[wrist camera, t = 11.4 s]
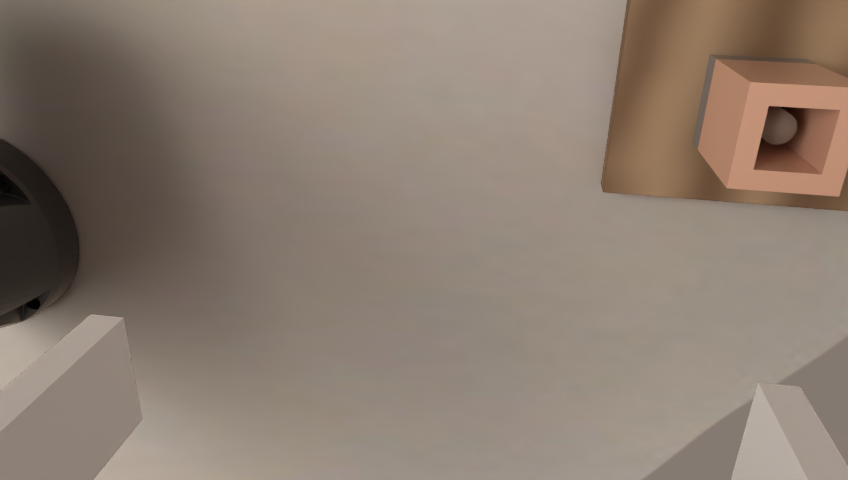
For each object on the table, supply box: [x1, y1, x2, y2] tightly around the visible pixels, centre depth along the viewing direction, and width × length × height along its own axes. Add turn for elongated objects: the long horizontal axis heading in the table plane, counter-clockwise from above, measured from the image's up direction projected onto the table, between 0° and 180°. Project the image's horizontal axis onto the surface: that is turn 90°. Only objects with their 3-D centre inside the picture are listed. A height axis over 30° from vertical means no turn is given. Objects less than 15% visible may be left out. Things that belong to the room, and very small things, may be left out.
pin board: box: [601, 0, 848, 211], centre depth 34 cm, size 14×22×8 cm, turn 179°
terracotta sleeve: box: [692, 55, 848, 197], centre depth 34 cm, size 5×5×8 cm
